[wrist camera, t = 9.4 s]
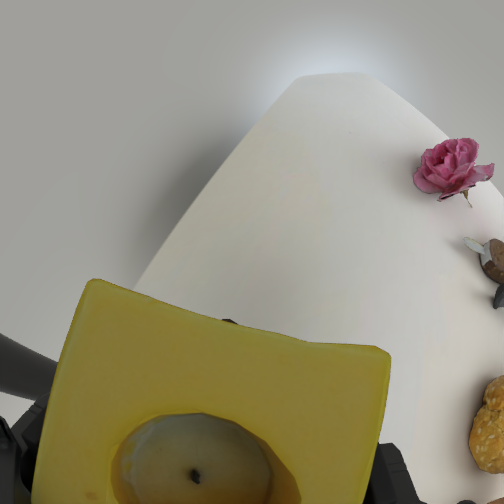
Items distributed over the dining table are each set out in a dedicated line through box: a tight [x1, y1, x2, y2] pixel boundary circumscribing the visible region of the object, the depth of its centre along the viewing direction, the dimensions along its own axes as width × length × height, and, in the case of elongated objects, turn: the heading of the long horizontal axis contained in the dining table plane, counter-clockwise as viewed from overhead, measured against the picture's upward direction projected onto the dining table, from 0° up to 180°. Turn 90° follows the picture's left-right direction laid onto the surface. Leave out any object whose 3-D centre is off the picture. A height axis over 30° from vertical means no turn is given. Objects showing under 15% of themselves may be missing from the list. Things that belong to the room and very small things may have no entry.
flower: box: [414, 138, 494, 207], centre depth 31 cm, size 11×10×10 cm
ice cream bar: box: [464, 237, 504, 284], centre depth 27 cm, size 5×15×3 cm, turn 65°
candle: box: [31, 279, 391, 504], centre depth 10 cm, size 10×10×10 cm
